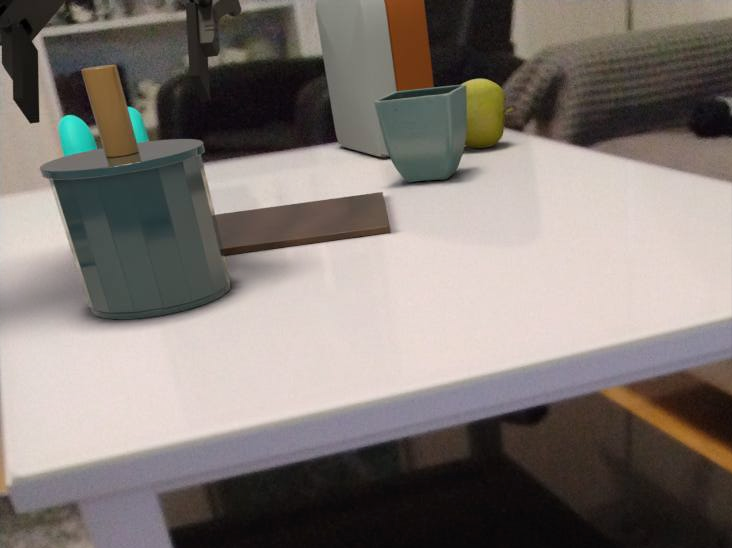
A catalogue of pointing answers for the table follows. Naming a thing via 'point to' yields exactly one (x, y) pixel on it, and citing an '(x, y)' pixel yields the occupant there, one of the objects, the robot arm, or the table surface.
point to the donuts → (81, 139)
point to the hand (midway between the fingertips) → (113, 100)
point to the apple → (484, 113)
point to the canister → (144, 240)
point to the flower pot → (424, 130)
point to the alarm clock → (371, 62)
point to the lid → (116, 137)
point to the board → (303, 223)
